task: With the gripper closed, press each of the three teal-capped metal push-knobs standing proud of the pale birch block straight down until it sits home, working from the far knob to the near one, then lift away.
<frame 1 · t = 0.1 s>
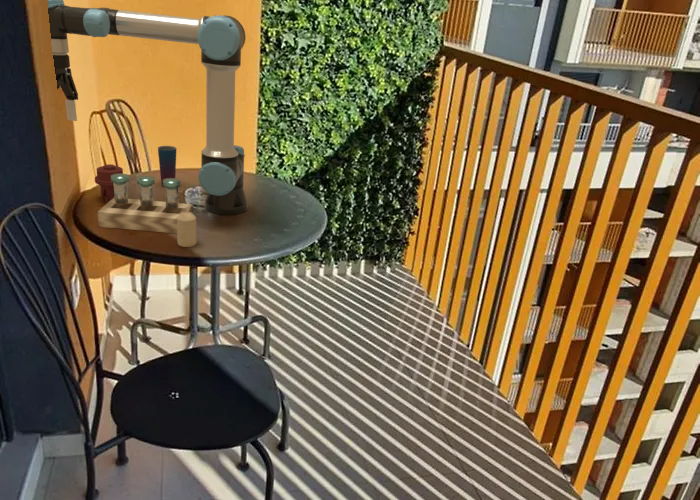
hand: (62, 124, 169), 28 cm above the table, fingers open, 13 cm apart
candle: (186, 244, 165), on the table
cup: (168, 185, 212), on the table
knob mid: (146, 191, 172), point 11 cm above the table, slide at 0.0 cm
birch block: (147, 222, 176), on the table
knob near: (171, 193, 173), point 11 cm above the table, slide at 0.0 cm
mechanical component: (112, 200, 192), on the table
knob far: (120, 188, 172), point 11 cm above the table, slide at 0.0 cm
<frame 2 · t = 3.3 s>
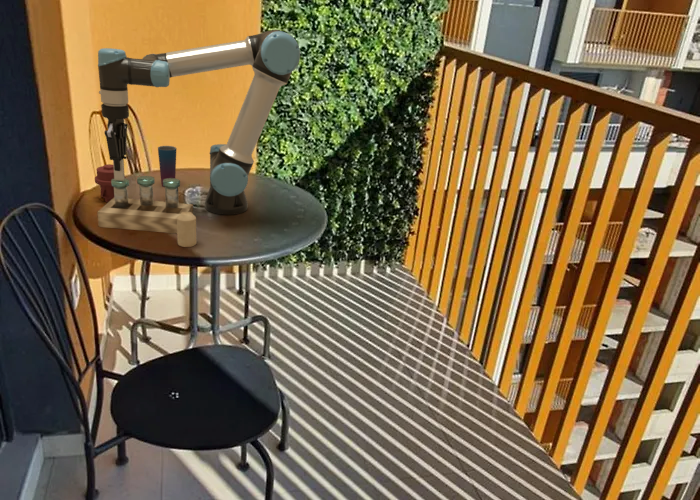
hand: (119, 179, 170), 14 cm above the table, fingers closed
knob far: (121, 193, 172), point 9 cm above the table, slide at 1.5 cm, touching gripper
everything else where it was.
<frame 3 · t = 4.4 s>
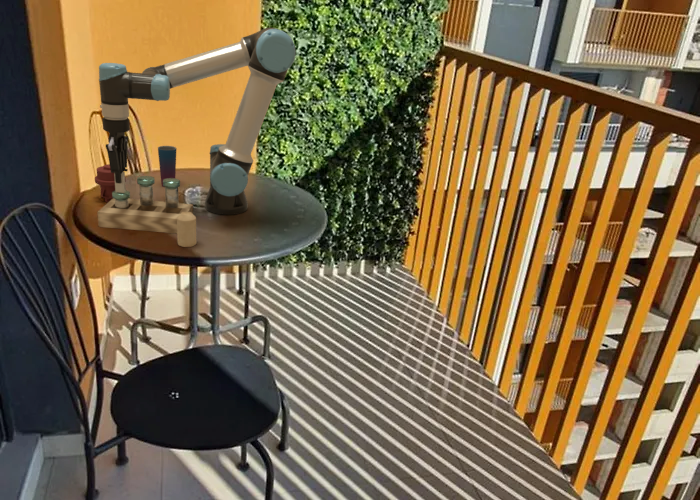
hand: (120, 191, 172), 10 cm above the table, fingers closed
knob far: (121, 204, 174), point 5 cm above the table, slide at 5.5 cm, touching gripper
everything else where it was.
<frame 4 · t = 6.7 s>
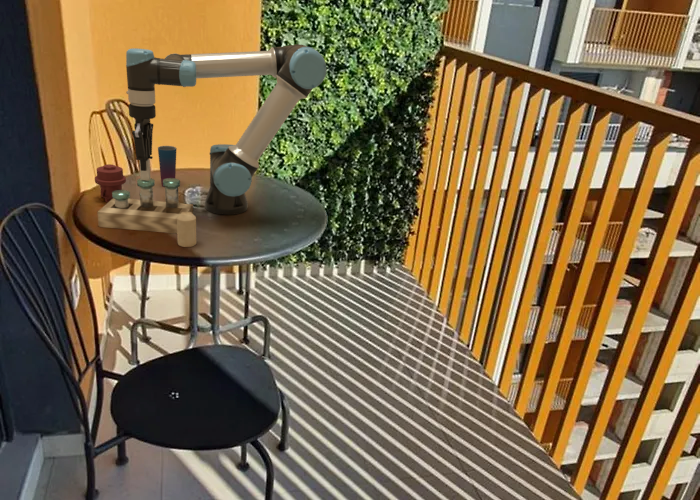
hand: (145, 179, 171), 15 cm above the table, fingers closed
knob mid: (146, 193, 172), point 10 cm above the table, slide at 0.7 cm, touching gripper
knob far: (121, 205, 174), point 5 cm above the table, slide at 5.5 cm
everything else where it was.
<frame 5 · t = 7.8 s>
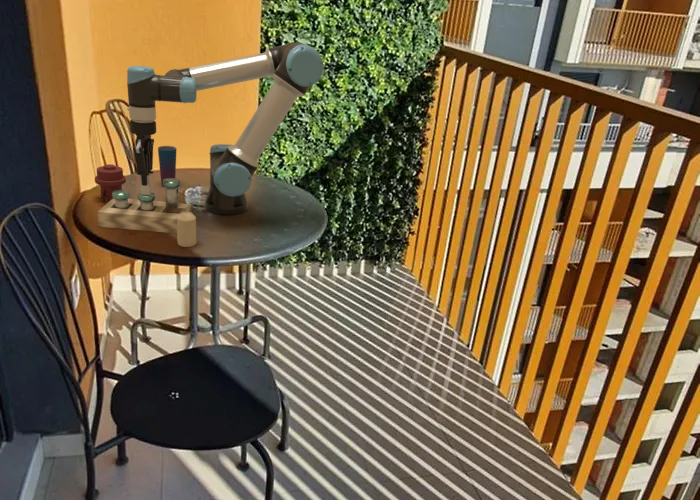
hand: (146, 193, 172), 10 cm above the table, fingers closed
knob mid: (147, 207, 174), point 5 cm above the table, slide at 5.5 cm, touching gripper
everything else where it was.
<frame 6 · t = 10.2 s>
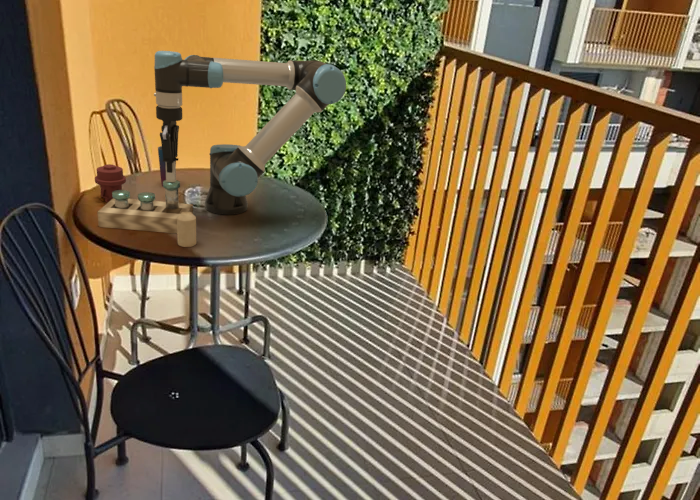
hand: (171, 181, 171), 15 cm above the table, fingers closed
knob mid: (147, 207, 174), point 5 cm above the table, slide at 5.5 cm
knob near: (171, 194, 173), point 10 cm above the table, slide at 0.5 cm, touching gripper
everything else where it was.
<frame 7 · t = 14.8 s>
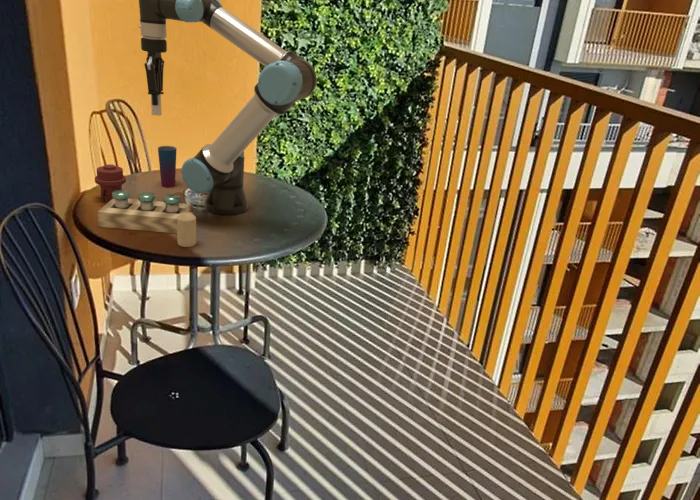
hand: (156, 114, 176), 32 cm above the table, fingers closed
knob near: (172, 209, 175), point 5 cm above the table, slide at 5.5 cm
everything else where it was.
at the end: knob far slide at 5.5 cm; knob mid slide at 5.5 cm; knob near slide at 5.5 cm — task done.
